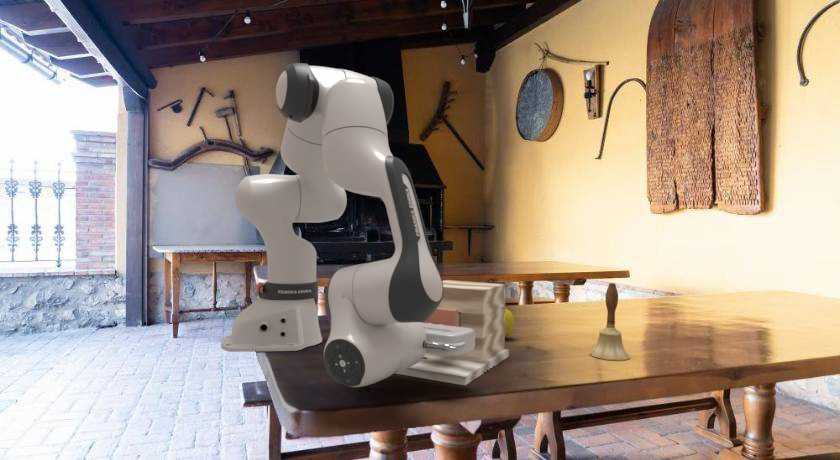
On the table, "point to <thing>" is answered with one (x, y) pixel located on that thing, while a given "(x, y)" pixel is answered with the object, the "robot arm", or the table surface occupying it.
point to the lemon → (508, 322)
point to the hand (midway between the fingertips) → (437, 327)
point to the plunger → (445, 317)
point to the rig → (479, 313)
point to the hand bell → (610, 332)
